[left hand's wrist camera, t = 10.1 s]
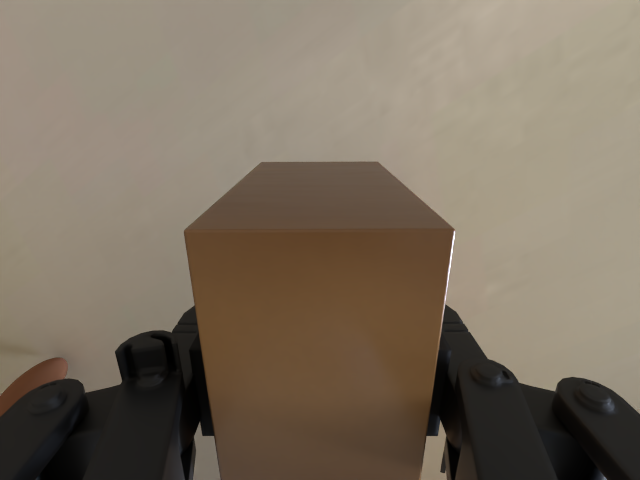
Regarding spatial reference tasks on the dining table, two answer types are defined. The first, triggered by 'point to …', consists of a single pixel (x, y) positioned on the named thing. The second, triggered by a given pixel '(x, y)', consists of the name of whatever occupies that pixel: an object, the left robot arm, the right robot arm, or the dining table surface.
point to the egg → (33, 381)
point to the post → (319, 321)
